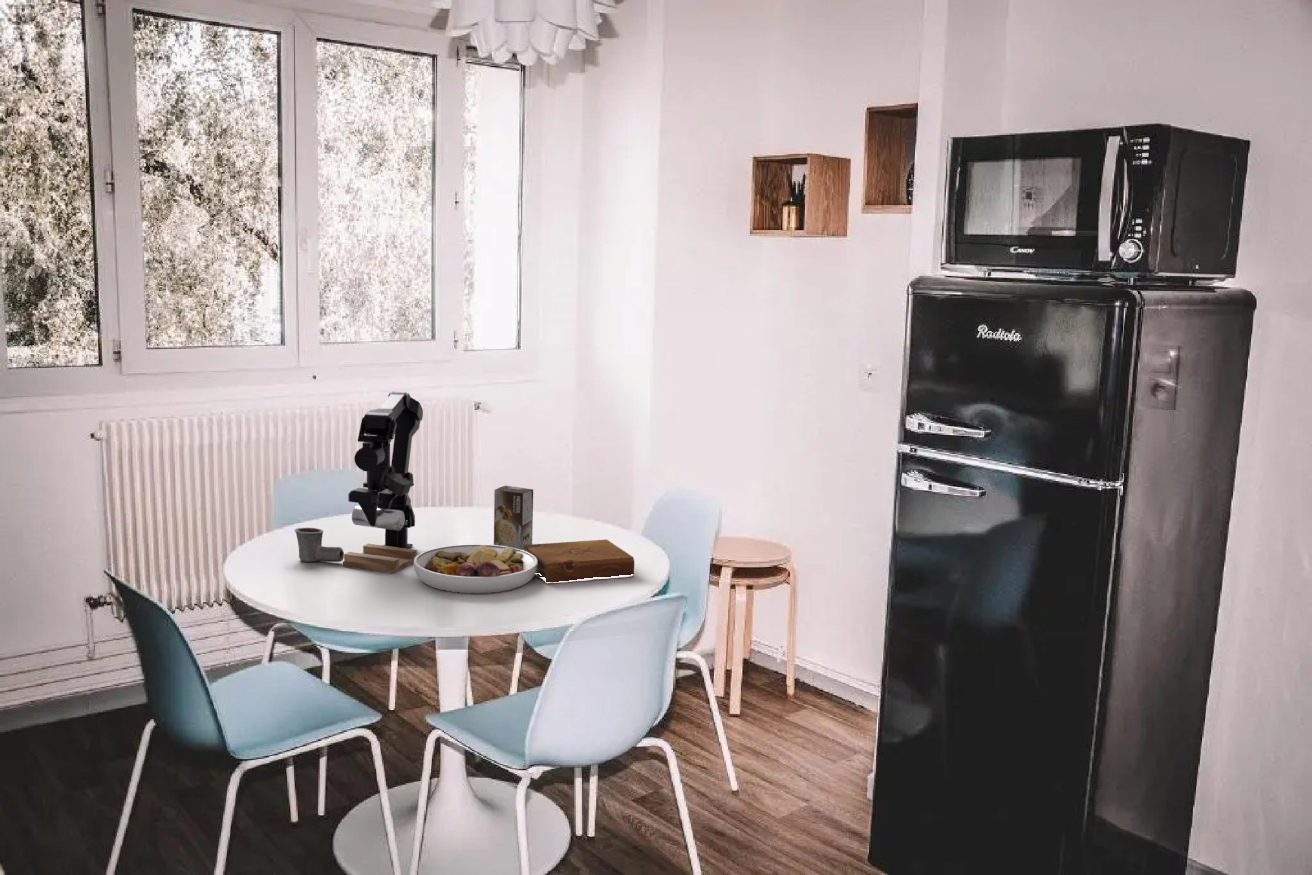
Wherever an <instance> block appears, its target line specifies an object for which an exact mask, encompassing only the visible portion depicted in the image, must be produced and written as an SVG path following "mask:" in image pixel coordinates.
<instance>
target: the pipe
mask: <svg viewBox="0 0 1312 875" xmlns="http://www.w3.org/2000/svg"><path fill="white" fill-rule="evenodd" d="M294 532H295V534H296V539H297V545H298V558H299V560H300V561H302V562H305V563H306V562H307V563H308V562H310V563H312V562H326V563H327V562H329V563H331V562H332V563H337V562H338V563H339V562H343V561H344V554H345V552H344V549H343V548H342V547H340V546H324V545H323V544H322V543H323V535H324V530H323V529H320V528H318V527H317V528H316V527H297V528H295V529H294ZM322 545H323V546H322Z"/></svg>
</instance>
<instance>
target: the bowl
mask: <svg viewBox="0 0 1312 875" xmlns="http://www.w3.org/2000/svg"><path fill="white" fill-rule="evenodd" d="M537 567H538V560H537V558H536V557H535V556H534V555H532V554H531V553H529V552H527V551H526V550H524V551H523V550H520V549H516V548H514V547H506V546H499V545H494V544H482V543H481V544H480V543H472V544H471V543H470V544H469V543H467V544H466V543H465V544H464V543H463V544H453V545H445V546H439V547H435V548H430V549H427V550H425V551H422V552H421V553H419V554H418V553H417V556H416V557H415V559H414V563H413V568H414V569H413V570H414V572H415V575H416V576H417V578H418V579H419V580H421V581H422V582H423V583H424V584H426V585H428V586H429V587H431V588H434V589H437V590H441V591H444V590H446V591H445V592H450V591H451V593H457V592H459V594H471V593H481V594H491V593H490V592H495V593H500V592H499V591H502V592H506V591H505V590H507V591H510V590H514V588H515V589H517V587H518V588H519V587H522V586H524V585H526V584H527V583H529V582H530V581H531V580H532V579H533V578H534V576H536V575H535V573H536V571H537Z"/></svg>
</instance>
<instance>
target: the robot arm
mask: <svg viewBox="0 0 1312 875" xmlns="http://www.w3.org/2000/svg"><path fill="white" fill-rule="evenodd" d="M423 417H424V409H423V407H422V404H421V403H420V402H419V401H418V400H416V399H414V398H413V397H412V396H411V395H410V393H409V392H408V393H407V392H406V391H405V392H404V391H391V392H389V393H388V396H387V398H386V399H385V400H384V402H383V403H382V404H381V405H380V406H379V407H378V408H376V409H370V410H369V411H366V413H364V416H362V418H361V423H360V426H359V427H360V428H359V431H358V437H357V442H359V443H362V447H361V448H359V449H358V450H357V451H356V452H355V454H354V458H353V460H354V463H355V465H356V467H358V469H359V470H362V471H363V472H366V482H363V483H362V485H363V486H362V487H358V488H355V489H352V490H351V491H349V493H348V494H347V495H348V496H347V497H348V499H347V501H348V502H349V503H355V504H357V503H358V505H360V507H361V508H362V510H363V512H364V514H365V516H366V518H367V520H368V522H369V524H370V526H375V523H376V514H377V508H384V509H392V510H400V511H403V512H404V515H405V521H404V525H403V527H402V529H401V530H399V531H397V530H390V529H384V530H385V532H384V544H382V545H383V546H390V547H398V548H405V549H411V547H413V544H412V543H408V540H409V539H408V536H409V534H408V533H409V531H408V530H409V529H410V528H412V527H415V525H416V515H415V513H414V510H413V507H412V504H411V503H412V500H411V498H410V496H409V493H410V490H411V487H413V486H414V485H415V483H414V481H415V480H414V474H413V473H412V472H410V471H409V467H410V466H409V465H410V458H411V449H412V441H413V437H414V435H415V434H417V432H418V431H419V429H420V424H421V421H422V420H423ZM392 440H393V445H392V446H393V447H392V455H391V442H392ZM408 528H409V529H408Z"/></svg>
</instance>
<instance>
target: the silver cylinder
mask: <svg viewBox="0 0 1312 875" xmlns="http://www.w3.org/2000/svg"><path fill="white" fill-rule="evenodd" d="M351 520H352V524H354V525H355V526H361V527H369V528H377V529H384V530H385V529H390V530H397V531H399V530H401V529H402V527H403V525H404V521H405V515H404V512H403V511H400V510H392V509H384V508H378V507H377V514H376V523H375V526H370V524H369V522H368V520H367V518H366V516H365V514H364V512H363V510H362V508H361V507H360V505H359V504H357V505H355V506H354V508H353V510H352V513H351Z"/></svg>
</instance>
